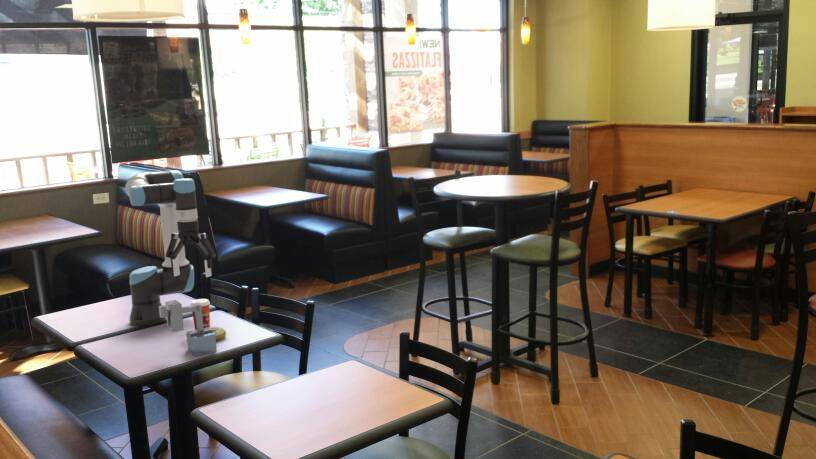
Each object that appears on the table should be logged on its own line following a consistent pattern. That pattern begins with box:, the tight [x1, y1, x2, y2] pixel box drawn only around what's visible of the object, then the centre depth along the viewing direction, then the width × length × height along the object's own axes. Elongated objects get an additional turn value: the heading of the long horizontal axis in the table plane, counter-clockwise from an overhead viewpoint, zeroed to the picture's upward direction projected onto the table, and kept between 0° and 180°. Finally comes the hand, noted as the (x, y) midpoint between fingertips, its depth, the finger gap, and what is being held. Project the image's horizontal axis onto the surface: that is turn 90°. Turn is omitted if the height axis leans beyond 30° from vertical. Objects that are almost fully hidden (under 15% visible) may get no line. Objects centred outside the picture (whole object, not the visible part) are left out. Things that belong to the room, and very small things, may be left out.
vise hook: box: [159, 304, 218, 357], centre depth 275 cm, size 10×18×20 cm, turn 124°
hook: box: [164, 299, 185, 333], centre depth 272 cm, size 7×4×10 cm, turn 34°
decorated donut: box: [210, 326, 227, 342], centre depth 294 cm, size 10×11×4 cm
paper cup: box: [190, 298, 211, 330], centre depth 299 cm, size 8×8×14 cm
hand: (192, 276), depth 277 cm, fingers open, 13 cm apart
